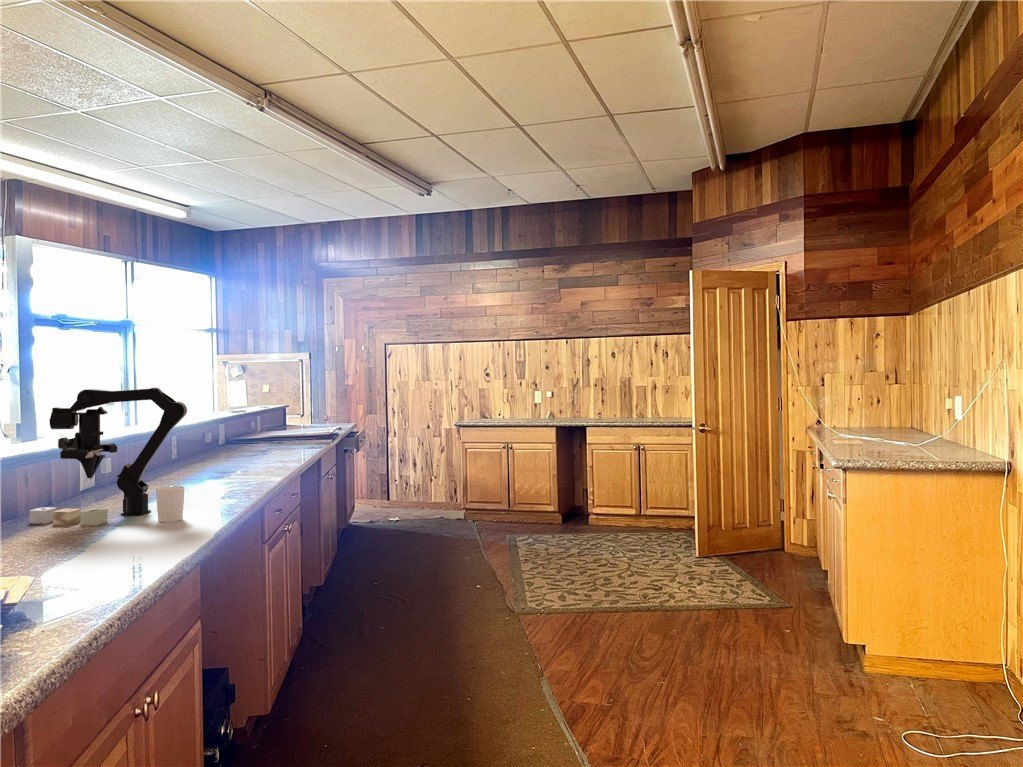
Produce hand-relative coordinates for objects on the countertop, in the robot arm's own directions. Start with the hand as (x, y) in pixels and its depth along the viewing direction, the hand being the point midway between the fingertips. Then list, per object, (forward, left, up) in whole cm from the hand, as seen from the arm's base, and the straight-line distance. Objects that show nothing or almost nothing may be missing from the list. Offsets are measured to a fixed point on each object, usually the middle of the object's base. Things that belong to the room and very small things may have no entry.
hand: (89, 478), depth 220 cm
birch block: (0, +10, -12) cm, 16 cm away
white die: (+8, +9, -12) cm, 17 cm away
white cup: (-28, +2, -12) cm, 31 cm away
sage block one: (-8, +9, -12) cm, 17 cm away
